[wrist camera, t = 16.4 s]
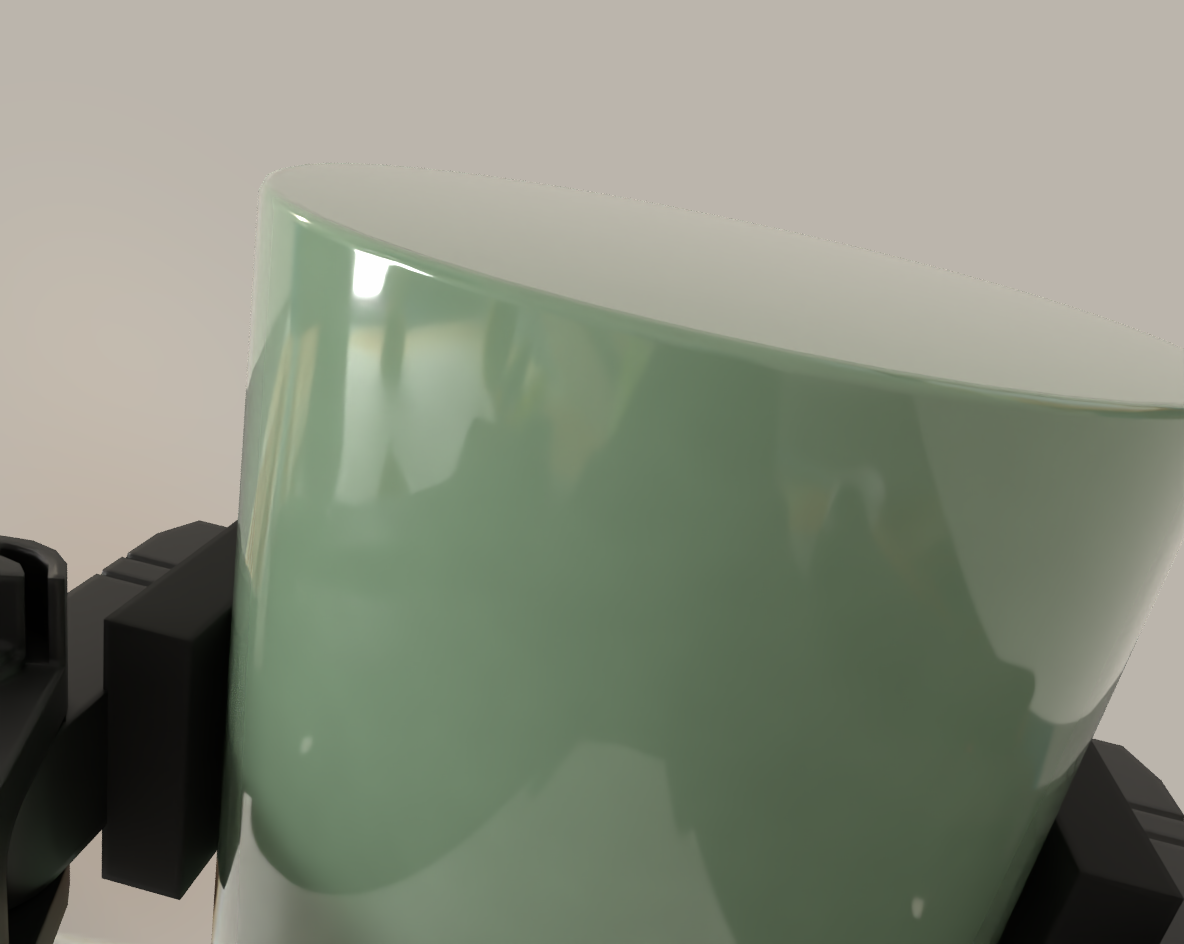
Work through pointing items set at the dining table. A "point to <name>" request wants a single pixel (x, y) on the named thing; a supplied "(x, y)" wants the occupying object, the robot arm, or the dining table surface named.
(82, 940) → the dining table surface
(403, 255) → the canister
